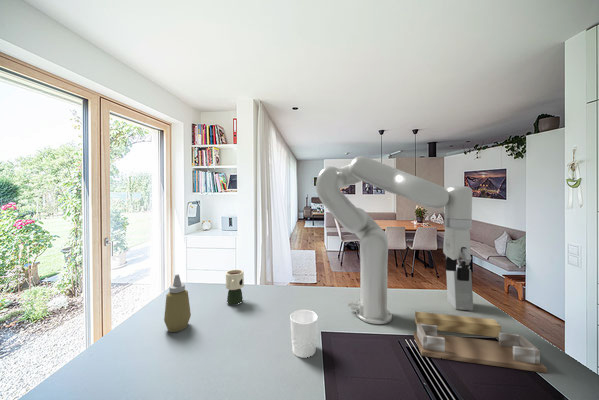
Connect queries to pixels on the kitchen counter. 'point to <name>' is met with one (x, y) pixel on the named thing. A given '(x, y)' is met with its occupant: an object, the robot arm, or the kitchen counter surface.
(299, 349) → the white cup
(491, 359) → the end cap frame
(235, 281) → the character mug
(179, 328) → the squeeze bottle
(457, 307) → the skincare box
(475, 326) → the slat
